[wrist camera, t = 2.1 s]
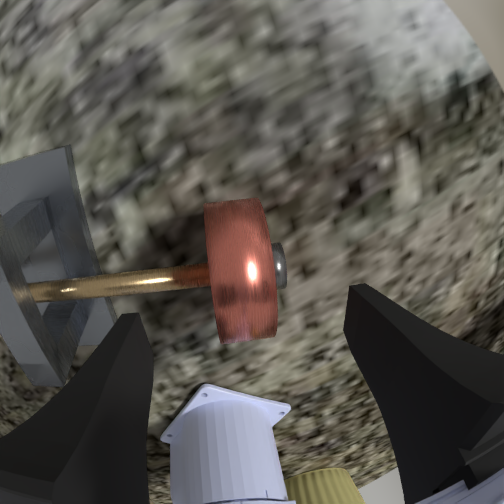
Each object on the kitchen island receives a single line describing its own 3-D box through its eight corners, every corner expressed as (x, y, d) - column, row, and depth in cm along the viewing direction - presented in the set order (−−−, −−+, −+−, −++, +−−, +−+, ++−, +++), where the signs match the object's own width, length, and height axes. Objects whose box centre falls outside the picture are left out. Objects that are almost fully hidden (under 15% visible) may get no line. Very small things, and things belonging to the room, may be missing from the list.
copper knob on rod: (9, 310, 17) (-28, 374, 11) (-24, 227, 14) (-82, 281, 9) (270, 284, 18) (297, 363, 13) (266, 179, 15) (300, 230, 10)
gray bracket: (58, 338, 19) (31, 409, 13) (-3, 165, 13) (-74, 207, 8) (123, 335, 19) (107, 413, 14) (70, 144, 13) (5, 178, 8)
